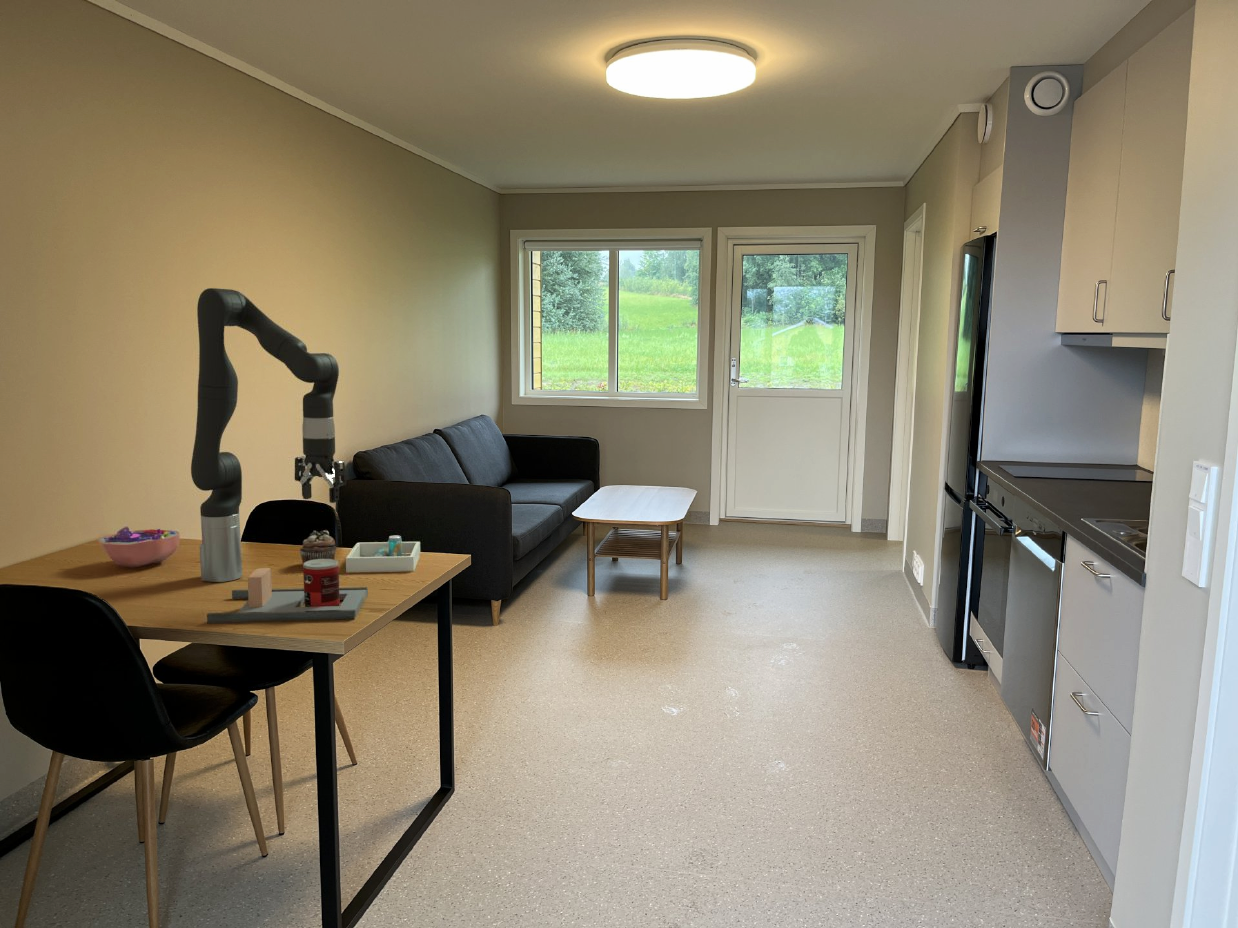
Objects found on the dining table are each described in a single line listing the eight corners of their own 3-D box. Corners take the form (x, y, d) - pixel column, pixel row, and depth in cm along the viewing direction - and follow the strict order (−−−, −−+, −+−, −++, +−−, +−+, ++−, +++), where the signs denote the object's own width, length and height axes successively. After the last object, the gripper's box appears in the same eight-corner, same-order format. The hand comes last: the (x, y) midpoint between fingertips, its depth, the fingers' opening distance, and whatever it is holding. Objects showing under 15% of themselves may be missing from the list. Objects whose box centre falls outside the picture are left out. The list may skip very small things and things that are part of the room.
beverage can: (404, 569, 243) (403, 541, 242) (360, 569, 243) (360, 541, 241) (413, 558, 255) (412, 532, 254) (371, 558, 254) (371, 531, 253)
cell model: (188, 566, 242) (186, 526, 241) (105, 577, 231) (102, 535, 229) (176, 553, 256) (173, 515, 254) (97, 563, 244) (94, 524, 242)
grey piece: (237, 618, 198) (235, 582, 197) (257, 597, 214) (255, 564, 212) (355, 615, 201) (354, 580, 200) (366, 595, 217) (365, 562, 216)
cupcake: (331, 559, 252) (330, 525, 250) (340, 567, 244) (339, 532, 242) (296, 563, 247) (295, 529, 245) (304, 571, 239) (303, 536, 237)
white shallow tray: (346, 572, 238) (345, 558, 238) (357, 555, 256) (357, 542, 256) (413, 571, 241) (413, 557, 240) (420, 554, 258) (420, 541, 258)
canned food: (309, 602, 211) (307, 558, 210) (343, 602, 212) (341, 558, 211) (300, 612, 204) (298, 566, 202) (335, 612, 205) (334, 566, 203)
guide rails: (207, 623, 196) (206, 614, 196) (233, 597, 214) (233, 589, 214) (354, 619, 200) (354, 610, 200) (367, 594, 218) (367, 587, 218)
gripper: (285, 434, 214) (287, 500, 216) (330, 439, 208) (332, 506, 210) (307, 432, 220) (309, 495, 223) (352, 436, 215) (353, 501, 217)
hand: (320, 500), depth 217 cm, fingers open, 8 cm apart
